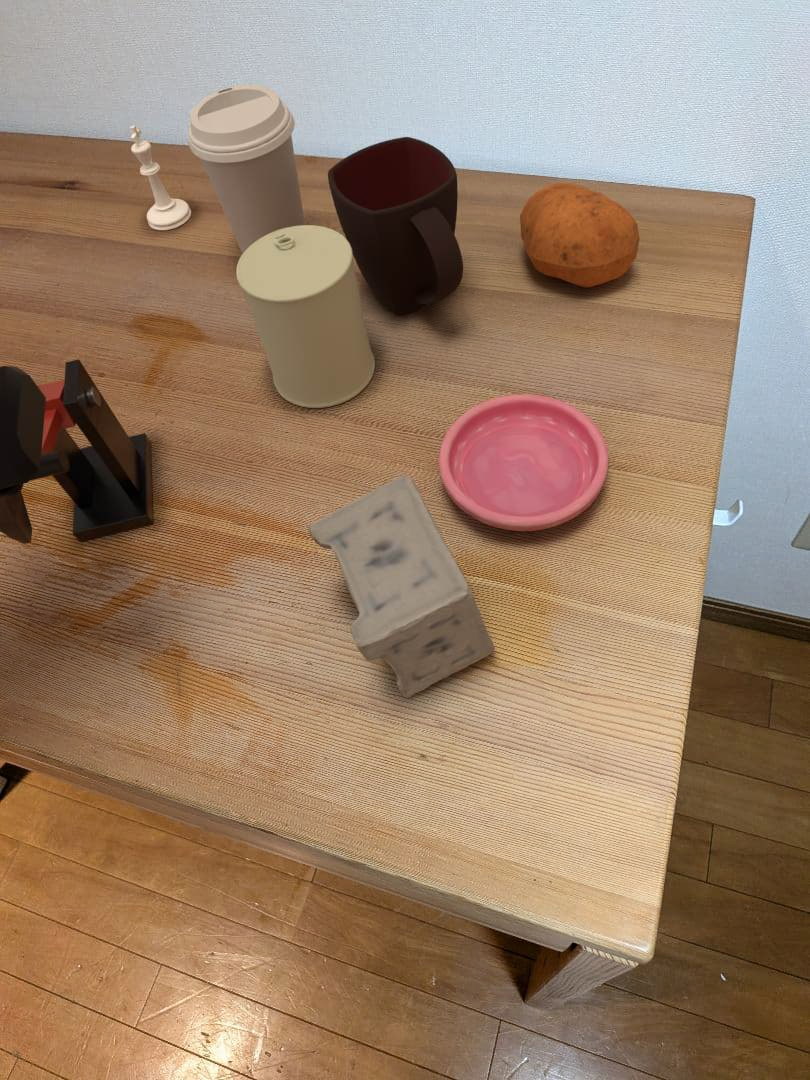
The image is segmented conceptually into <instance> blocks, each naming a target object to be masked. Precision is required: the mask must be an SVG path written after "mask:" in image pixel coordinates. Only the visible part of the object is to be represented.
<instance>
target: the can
mask: <svg viewBox="0 0 810 1080" xmlns="http://www.w3.org/2000/svg"><path fill="white" fill-rule="evenodd" d="M355 269H356V268H355V263H354V256H353V253H352V248H351V246H350V244H349V242H348V241H347V239H346V237H345V235H342V234H341V233H340V232H338V231H337V230H334V229H332V228H329V227H326V226H321V225H313V224H312V225H311V224H305V225H301V226H293V227H287V228H283V229H280V230H277V231H274V232H272V233H270V234H267V235H265V236H264V237H262V238H260V239H259V240H257V241H255V242H254V243H253V244H252V245H251V246H249V247H248V248H247V249H246V251H245V252H244V253H241V256H240V257H239V259H238V262H237V265H236V270H235V271H236V272H235V276H236V280H237V282H238V284H239V286H240V288H241V291H242V293H243V296H244V298H245V301H246V303H247V306H248V309H249V312H250V314H251V317H252V320H253V322H254V325H255V329H256V331H257V333H258V335H259V339H260V342H261V345H262V348H263V350H264V353H265V356H266V359H267V362H268V365H269V368H270V370H271V371H270V372H271V374H272V381H273V385H274V387H275V390H276V391H277V393H279V395H280V397H282V398H283V399H284V400H285V401H287V402H289V403H290V404H292V405H295V406H297V407H302V408H307V409H324V408H325V409H326V408H330V407H334V406H338V405H340V404H343V403H345V402H348V401H349V400H352V399H353V398H355V397H356V396H358V395H359V394H360V393H362V391H364V390H365V388H366V387H368V385H369V384H370V382H371V380H372V378H373V375H374V373H375V369H376V359H375V357H374V353H373V351H372V349H371V343H370V340H369V335H368V330H367V326H366V321H365V317H364V311H363V307H362V301H361V296H360V291H359V285H358V280H357V276H356V270H355Z"/></svg>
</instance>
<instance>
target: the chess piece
mask: <svg viewBox="0 0 810 1080" xmlns="http://www.w3.org/2000/svg"><path fill="white" fill-rule="evenodd" d="M129 130H130V132H131V136H130V141H131V143H133V144H132V145H131V148H130V151H131V152H132V154H133V155H134V156H135V157H136V158H137V159H138V161H139V162H140V164H142V165H141V166H140V168H139V173H140V174H141V175H142V176H146V177H147V178H148V181H149V185H150V186H151V191H152V194H153V198H154V203H153V205H152V206H151V207H150V208H149V209H148V211H147V213H146V220H147V224H148V225H149V227H150V228H151V229H153V230H156V231H170V230H173V229H176V228H178V227H180V226H183V225H184V224H185V223H187V221H188V220H190V218H191V216H192V210H191V208H190V206H189V204H188V203H187V201H185V200H183V199H180V198H173V197H171V196H170V195H169V193H168V192H167V190H166V188H165V186H164V185H163V183H162V181H161V179H160V177H159V175H158V172H159V171H160V170H161V166H160V165H159V163H158V162H155V161H153V156H152V146H151V143H150V142H149V141H147V140H142V138H141V137H140V136H141V134H142V131H141V129H140V128H137V127H136V125H130V126H129Z"/></svg>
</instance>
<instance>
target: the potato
mask: <svg viewBox="0 0 810 1080" xmlns="http://www.w3.org/2000/svg"><path fill="white" fill-rule="evenodd" d="M519 223H520V224H519V225H520V237H521V240H522V242H523V245H524V249H525V251H526V253H527V255H528V257H529V259H530V261H531V263H532V265H533V267H534V269H535V270H537V271H538V272H540V273H541V274H543V275H545V276H549V277H554V278H556V279H557V278H558V279H561V280H563V281H566V282H568V283H571V284H573V285H576V286H579V287H581V288H593V287H595V286H599V285H602V284H605V283H608V282H611V281H613V280H615V279H619V278H621V276H623V275H624V274H625V273H626V272H627V271H628V270H629V269H630V267H631V266H632V265H633V263H634V262H635V260H636V258H637V255H638V250H639V245H640V233H639V227H638V223H637V222H636V219H634V217H633V215H632V214H631V213H630V212H629V211H628V210H627V209H626V208H625V207H624V206H622V205H621V204H619V203H618V202H616V201H614V200H613V199H611V198H610V197H608V196H607V195H605V194H603V193H602V192H599V191H596V190H593V189H590V188H588V187H585V186H583V185H581V184H576V183H571V182H560V183H553V184H550V185H548V186H545V187H543V188H540V189H538V190H536V192H534V194H533V195H531V196H530V197H529V198H528V199H527V201H526V203H525V204H524V206H523V208H522V210H521V213H520V215H519Z"/></svg>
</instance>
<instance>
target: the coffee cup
mask: <svg viewBox="0 0 810 1080" xmlns="http://www.w3.org/2000/svg"><path fill="white" fill-rule="evenodd" d="M189 123H190V124H189V126H188V131H187V132H188V134H187V140H188V147H189V150H190V151H191V153H192V154H194V156H196V157H197V158H199V159H200V161H201V163H202V166H203V168H204V170H205V172H206V175H207V177H208V179H209V181H210V183H211V186H212V188H213V190H214V192H215V195H216V197H217V200H218V201H219V203H220V206H221V208H222V211H223V212H224V215H225V218H226V220H227V222H228V224H229V226H230V228H231V231H232V233H233V235H234V238H235V240H236V242H237V245H238V247H239V249H240V251H241V254H243V253H244V252H245V251H246V249H247V248H248V247H249V246H251V245H252V244H253V243H254V242H255V241H257V240H259V239H260V238H262V237H264V236H265V235H267V234H270V233H272V232H274V231H277V230H280V229H283V228H287V227H293V226H301V225H306V222H305V215H304V210H303V203H302V197H301V196H302V195H301V190H300V183H299V176H298V170H297V169H298V168H297V164H296V163H297V162H296V156H295V151H294V143H293V137H292V134H293V132H294V129H295V125H296V124H295V123H296V122H295V118H294V116H293V114H292V112H291V110H290V109H289V107H288V106H287V104H285V102H284V101H282V100H281V99H280V96H279V94H278V93H277V92H276V91H275V90H274V89H271V88H270V87H267V86H265V85H264V86H263V85H260V84H259V85H258V84H241V85H234V86H229V87H226V88H222V89H219V90H216V91H214V92H212V93H210V94H208V95H207V96H205V97H203V98H202V99H201V100H199V101H198V102H197V103H196V104H195V105H194V106H193V108H192V109H191V111H190V115H189Z"/></svg>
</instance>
